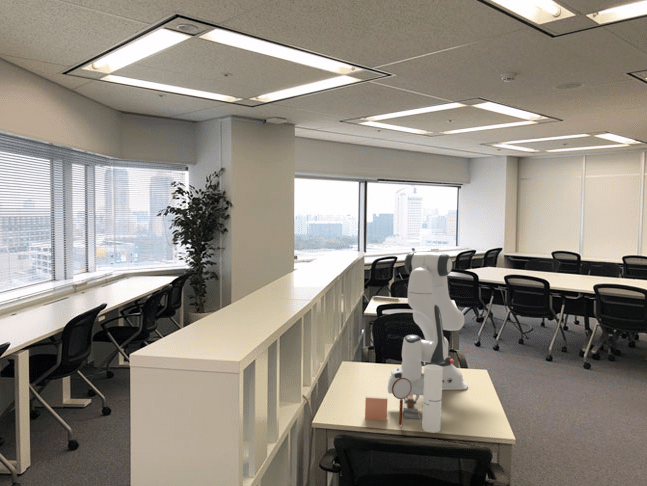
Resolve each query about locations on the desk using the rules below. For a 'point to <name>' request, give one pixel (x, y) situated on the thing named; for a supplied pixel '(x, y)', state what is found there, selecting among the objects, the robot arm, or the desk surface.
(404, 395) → the magnifying glass
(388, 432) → the desk surface
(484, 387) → the desk surface
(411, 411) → the turner
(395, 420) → the desk surface
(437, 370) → the cylindrical container
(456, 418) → the desk surface
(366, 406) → the glazed tile
